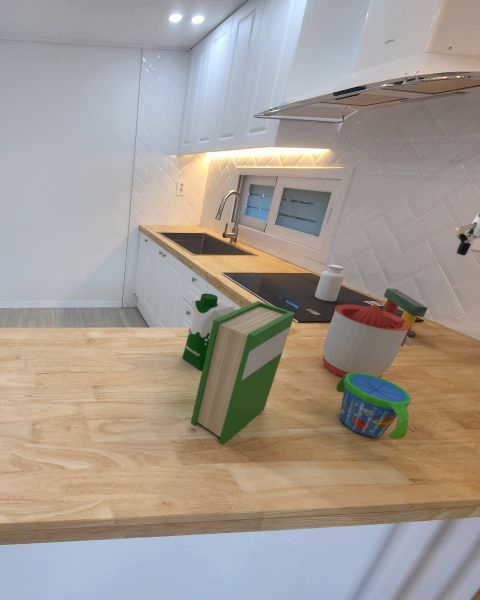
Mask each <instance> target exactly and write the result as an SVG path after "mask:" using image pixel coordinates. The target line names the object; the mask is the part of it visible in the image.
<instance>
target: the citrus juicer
mask: <svg viewBox="0 0 480 600" xmlns="http://www.w3.org/2000/svg"><path fill="white" fill-rule="evenodd" d="M404 322H405V320H404V319H403V318H401V316H398V315H396V314H391V313H388V312H385V311H383V309H381V308H380V306H379V305H377V304H372V305H368V306H366V305H365V306H364V305H358V304H346V303H345V304H342V303H341V304H338V305H335V307H334V313H333V316H332V318H331V321H330V324H329V326H328V329H327V331H326V334H325V338H324V341H323V348H322V350H323V351H322V353H323V354H322V360H323V365H324V366H325V368H327V369H328V371H330V372H331V373H332V374H335V375H338V376H340V377H341V378H342V377H343V376H344V375H345V374H348V373H364V374H369V375H373V376H376V377H380V378H381V377H382V376H383V374H385V372H386V371H388V369H389V368H390V367H391V366H392V364H393V363H394V361H395V359H396V357H397V355H398V354H399V351H400V349H401V347H404V345H407V346H410V347H413V341H412V340H410V337H408V336H407V335H408V333H409V331H410V329H411V330H412V328H402V327H403V324H404Z"/></svg>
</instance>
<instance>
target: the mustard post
mask: <svg viewBox="0 0 480 600" xmlns="http://www.w3.org/2000/svg"><path fill="white" fill-rule="evenodd" d="M400 317H401V318H403V319H404V320H405V322H404V324H403V327H402V328H411V329H410V331H409V333H408V335H407V336H408V337H409V338H415V337H416V335H417V333H416V332H415V331H414V330H412V328H413V326H414V324H415V322H416V320H417V317H418V316H412V315H410V314H409V313H407V312H406V311H405V310H403V312H402V315H401V316H400Z"/></svg>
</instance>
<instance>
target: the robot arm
mask: <svg viewBox="0 0 480 600" xmlns="http://www.w3.org/2000/svg"><path fill="white" fill-rule="evenodd" d="M466 231H467V233H465V232H466ZM456 234H457V235H456V237H457V238H458V239H459V242H460V243H459V245H458V247H457V250H456V255H460V256H466V255H467V254H468V251H469V250H470V248H471V245H472V243H471V242H473V241H475V240H477V239H480V211H479V212H478V213H477V214H476V216H475V217H474V219H473V220H472V223H470V224H466V225H462V226H459V227H457V228H456ZM466 234H467V235H466Z"/></svg>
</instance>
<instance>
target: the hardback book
mask: <svg viewBox="0 0 480 600" xmlns="http://www.w3.org/2000/svg"><path fill="white" fill-rule="evenodd" d="M295 314H296V312H294V311H291V310H288V309H284V308H281V307H278V306H275V305H272V304H269V303H267V302H263V301H259V300H257V301H255V302H254V301H253V302H252V303H249V304H247V305H245V306H243V307H239V308H238V309H236V310H234V311H233V312H231V313H229V314H226V315H224V316H222V317H219V318H217V319H215V320H214V321H213V325H212V330H211V334H210V339H209V343H208V348H207V352H206V357H205V361H204V366H203V370H202V371H201V375H200V380H199V384H198V388H197V392H196V398H195V402H194V406H193V410H192V417H191V419H190V424H191V425H193V426H196V425H197V424H199V425H201V426H203V427H204V428H206V429H207V430H209V431H210V432H211V433H213V434H214V435H216V436H217V437H219V440H218V443H219V444H221V445H222V446H224V445H226V443H228V442H229V441H230V440H231V439H232V438H233V437H235V435H237V434H238V433H239V432H240V431H242V429H244V428H245V427H247V425H248V424H249V423H251V422H252V421H253V420H254V419H255V418H256V417H258V416H259V415H260V414H261V413H262V412H263V411H264V410H265V408H266V405H267V402H268V398H269V396H270V392H271V389H272V386H273V383H274V379H275V377H276V374H277V371H278V368H279V364H280V361H281V358H282V356H283V352H284V349H285V346H286V342H287V339H288V336H289V333H290V330H291V327H292V325H293V321H294V318H295Z"/></svg>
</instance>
